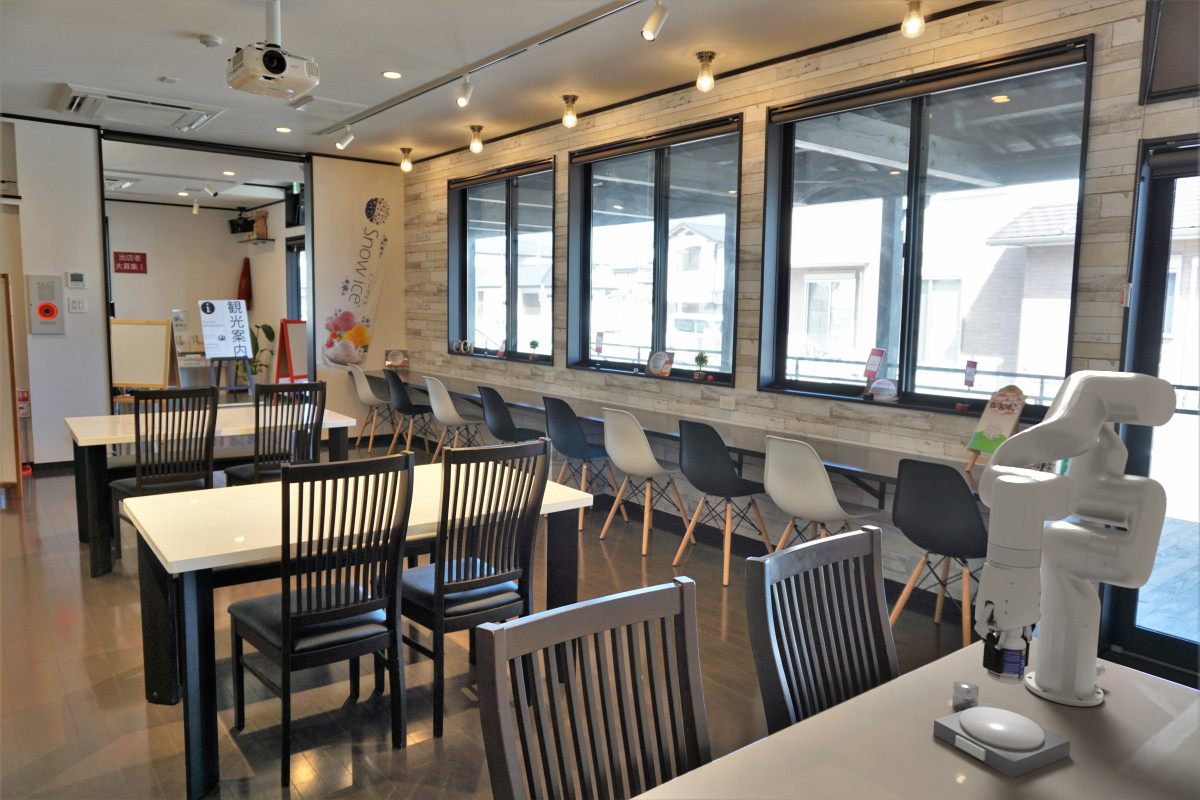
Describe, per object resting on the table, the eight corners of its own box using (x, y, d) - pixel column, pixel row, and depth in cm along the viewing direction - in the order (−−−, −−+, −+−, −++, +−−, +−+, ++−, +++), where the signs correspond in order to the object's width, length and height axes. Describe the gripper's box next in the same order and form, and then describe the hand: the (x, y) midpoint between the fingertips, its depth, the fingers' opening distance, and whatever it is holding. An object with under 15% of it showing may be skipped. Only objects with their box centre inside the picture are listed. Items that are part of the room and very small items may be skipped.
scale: (988, 715, 137) (990, 697, 137) (1069, 755, 125) (1070, 735, 124) (931, 735, 130) (932, 715, 130) (1010, 779, 118) (1011, 757, 117)
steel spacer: (962, 700, 143) (963, 678, 142) (982, 709, 139) (983, 688, 139) (947, 704, 141) (948, 683, 140) (967, 714, 137) (968, 692, 137)
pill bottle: (1028, 687, 123) (1032, 631, 122) (991, 683, 124) (995, 628, 123) (1017, 672, 128) (1021, 619, 127) (982, 669, 129) (986, 616, 129)
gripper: (1025, 543, 132) (1017, 649, 133) (956, 555, 124) (948, 667, 125) (1070, 555, 125) (1061, 666, 127) (1000, 568, 117) (991, 687, 119)
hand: (1005, 665), depth 126 cm, fingers closed on pill bottle, 5 cm apart
